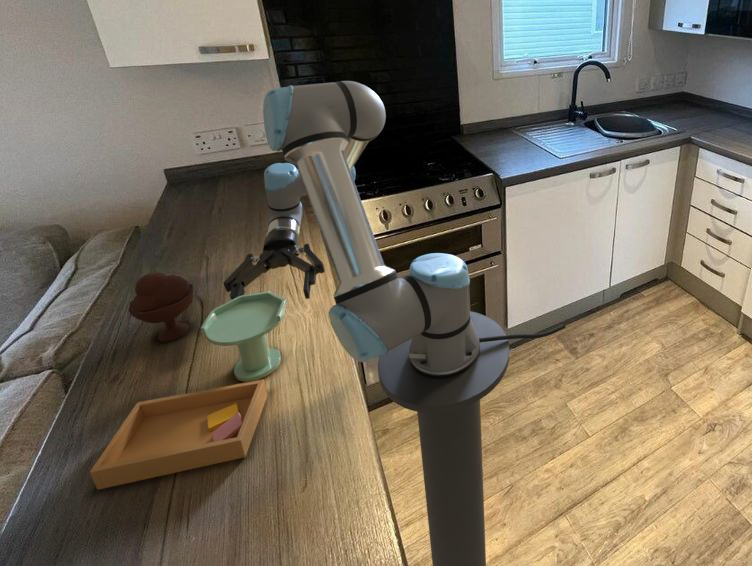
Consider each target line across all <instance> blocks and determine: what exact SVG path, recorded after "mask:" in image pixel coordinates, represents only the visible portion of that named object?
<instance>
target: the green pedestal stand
mask: <svg viewBox="0 0 752 566" xmlns="http://www.w3.org/2000/svg"><path fill="white" fill-rule="evenodd" d="M287 305H288V304H287V299H286V298H284V297H282V296H280V295H278V294H276V293H274V292H272V291H263V292H262V291H261V292H256V293H250V294H249V293H248V294H244V295H241V296H239V297H237V298H235V299H233V300H228V301H227V302H225V303H223V304H221V305H219V306H217V307H215V308H214V309H212V310H211V311H210V312H209V314H208V316H207V317H206V319H205V320H204V322H203V323H202V325H201V327H200V332H201V334H205V337H206V339H207V341H208V342H209V343H211V344H213V345H214V346H215V345H216V346H221V347H229V346H230V347H231V346H236V348H237V352H238V355H239V360H238V361H237V363H236V364H235V366H234V369H233V373H234V378H236V379H237V380H238V381H240V382H243V383H247V382H252V381H258V380H262V379H263V378H266V377H267V376H269V375H271V374H272V373H273V372H275V371H276V369H277V368H278V367H279V365H280V364H281V361H282V357H281V353H280V351H279V350H278V349H276V348H273V347H270V344H269V339H268V336H267V334H269V333H270V332H271V331H273V330H274V329H276V327H278V326H279V325H280V324H281V323H282V322H283V319H284V318H285V317H286V316H285V315H286V308H287Z"/></svg>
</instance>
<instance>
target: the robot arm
mask: <svg viewBox="0 0 752 566" xmlns="http://www.w3.org/2000/svg"><path fill="white" fill-rule="evenodd" d="M386 118H387V115H386V108H385V105H384V102H383V101H382V100H381V98H380V96H379V95H378V94H377V93H376V92H375V91H374V90H372V89H371V88H370V87H368V86H367V85H365V84H362V83H360V82H357V81H353V80H340V81H335V82H333V81H332V82H323V83H311V84H302V85H301V84H300V85H292V84H290V85H288V86H283V87H277V88H271V89H270V90H268V91H267V92H266V94H265V95H264V97H263V105H262V119H263V127H264V133H265V139H266V141H267V142H266V143H267V144H268V146H269V148H270V150H271V151H273V152H282V154H283V158H284V160H285V162H283V163H282V162H276V163H273V164H271V165H269V166H267V168H265V169H264V173H263V180H264V184H263V185H264V188H265V189H264V190H265V194H266V200H267V209H268V215H269V218H268V225H267V228H266V233H265V238H264V242H263V246H262V252H261V253H260V254H259V255H253V253H248V254H247V255H246V256H245V259H244V260H243V262H241V264H239V266H238V267H236V269H235V270H233V271H232V273H231V274H230V275H229V276H228V277H227V278H226V279H225V280H224V281H223V283H222V284H223V286H224V289H225V291H226V292H227V293H229V292H230V293H229V297H230V299H231V300H233V299H235V298H237V297H239V296H241V295H245V293H246V290H245V288H246V287H247V286H249V285H250V284H251V283H253V281H255V280H256V279H257V278H259V277H260V276H261V275H262V274H266V273H267V272H269V271H270V270H275V269H278V268H285V267H287V266H290V267H292V268H296V269H298V270H300V271H301V272H303V273H304V279H303V289H302V291H303V295H304V297H305V300H308V299H311V286H313V285H315V284H316V282H317V281H316V279H317V275H318V274H324V273H325V272H326V270H325V266H324V263H323V262H322V261H321V259H320V257H318V256H317V255H316V254H315V252H313V251H312V248H311V245H310V243H305V244H304V245H303V247H299V242H300V241H299V239H300V233H301V222H302V217H303V214H304V213H303V204H302V202H301V197H305V196H307V199H308V201H309V203H310V207H311V210H312V212H313V215H314V218H315V221H316V223H317V226H318V229H319V232H320V235H321V239H322V241H323V243H324V247H325V250H326V252H327V255H328V258H329V260H330V263H331V266H332V269H333V272H334V274H335V277H336V280H337V287H336V289H335V291H334V293H333V300H334V302H335V304H333V305H332V306H331V307H330V308H329V310H328V318H329V320H330V325H331V328H332V330H333V332H334V334H335V337H336V338H337V340H338V342H339V343H340V345H341V346H342V347H343V349H344V351H345V352H346V354H348V355H349V356H350V357H351V358H352V359H353V360H354V361H356V362H360V363H367V362H370V361H372V360H375V359H376V358H379V356H380V355H385V354H386V353H387V352H388V351H389V350H391V349H393V348H395V347H397V346H399V345H400V344H402V343H404V342H406V341H408V340H410V339H412V341H411V345H410V349H409V358H410V362H411V365H412V367H413V368H414V370H415V371H416V372H418V373H419V374H421V375H423V376H425V377H429V378H435V379H443V378H449V377H453V376H456V375H459V374H461V373H463V372H464V371H466V370H467V369H469V368H470V367H471V366H472V365H473V364H474V363H475V361H476V360H477V358H478V356H479V353H480V342H488V341H498V340H507V339H508V340H516V339H517V340H519V339H520V340H521V339H541V338H545V337H548V336H552V335H554V334H556V333H558V332H561V331H562V330H565V329H566V324H560V325H558V326H556V327H554V328H553V329H550V330H548V331H544V332H539V333H516V334H506V335H504V336H494V337H484V338H479V337H478V334H477V332H476V330H475V327H474V325H473V323H472V321H471V318H470V311H471V295H470V284H471V279H470V274H469V268H468V265H467V264H466V262H465V261H464V260H463V259H461V258H460V257H458V256H457V255H454V254H451V253H450V254H449V253H442V252H433V253H427V254H423V255H420V256H417V257H416V258H415V259H413V260H412V262H411V264H410V266H409V273H408V274H406V275H404V276H401V277H398V274H397V271H396V269H394V268H392V267H390V266H387V265H386V264H385V261H384V259H383V257H382V254H381V251H380V249H379V245H378V244H377V241H376V238H375V237H376V236H375V235H374V232H373V230H372V226H371V223H370V221H369V219H368V215H367V213H366V210H365V207H364V204H363V202H362V200H361V197H360V194H359V191H358V189H357V188H358V187H357V185H356V183H355V182H356V181H355V180H356V175H357V173H356V168H355V165H356V163H357V161H358V160H359V158H360V157H361V155H362V153H363V152H364V150H365V149H366V147H367V145H368V144H369V142H371V141H373V140H374V139H376V138H377V137H378V136H379V135H380V133H381V132H382V131H383V129H384V126H385V125H386ZM299 255H302V256H304V257H306V259H307V260H308V261H309V262H307V261H306V260H304V259H302V258H301V257H299ZM231 300H230V301H231Z"/></svg>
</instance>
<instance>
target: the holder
mask: <svg viewBox="0 0 752 566" xmlns="http://www.w3.org/2000/svg"><path fill="white" fill-rule="evenodd" d="M268 394H269V393H268V389H267V385H266V382H265V379H263V378H262V379H258V380H255V381H250V382H243V383H236V384H231V385H226V386H220V387H215V388H209V389H203V390H197V391H193V392H188V393H182V394H176V395H171V396H165V397H159V398H154V399H148V400H143V401H138V402H136V403H135V405H134V407H133V408H132V409H131V411H130V412H129V414H128V415H127V417H126V418H125V420H124V421H123V423H122V424H121V425H120V427H119V428H118V430H117V431H116V432H115V434H114V436H113V437H112V439H111V440H110V442H109V443H108V444H107V446H106V447H105V449H104V450H103V452H102V453H101V455H100V456H99V458H98V459H97V461H96V462H95V463H94V465H93V467H92V468H91V470H90V471H89V474H90V476H91V478H92V480H93V482H94V485H95V488H96V489H97V490H103V489H108V488H112V487H117V486H122V485H126V484H130V483H134V482H139V481H143V480H149V479H153V478H158V477H162V476H167V475H172V474H175V473H180V472H184V471H185V472H186V471H190V470H194V469H199V468H204V467H207V466H212V465H216V464H221V463H226V462H229V461H234V460H238V459H243V458H246V457H247V454H248V451H249V448H250V445H251V443H252V440H253V437H254V435H255V431H256V429H257V426H258V423H259V421H260V418H261V415H262V413H263V410H264V407H265V404H266V401H267V398H268ZM235 403H237V406H238V411H239V413H240V414H241V416H242V419H243V423H242V425H241V428H240V430H239V431H238V432H237V433H236V434H235V435H233V436H232V437H231V438H230V439H226V440H221V441H217V442H214V440H213V437H212V432H214V431H215V430H216V429H214V430H212V431H210V432H209V430H208V424H207V415H210V414H212V413H214V412H217V411H219V410H221V409H223V408H226V407H228V406H230V405H232V404H235Z"/></svg>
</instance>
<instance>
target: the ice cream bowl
mask: <svg viewBox="0 0 752 566" xmlns="http://www.w3.org/2000/svg"><path fill="white" fill-rule="evenodd" d="M134 292H135V296H134V297H133V299H132V300H130V302H129V306H128V312H129V314H130V315H131V316H132V318H135V319H136V320H139V321H142V322H145V323H148V324H160V323H164V324H165V327H164V328H162V329H161V331H159V332H158V335H157V336H158V337H157V340H158V341H160V342H163V343H164V342H169V341H175V340H176V339H179V338H181V337H183V336H184V335H186V333H188V332H189V330H190V329H189V328H190V325H189V324H187V323H184V322H176V318H178V317H179V316H181V315H182V314H183V313H184V312H185V311H187V310H188V308H189V307H190V306H191V305H192V303H193V300H194V285H193V284H191V283H189V282H188V280H187V279H185V278H184V277H182V276H180V275H174V274H172V275H171V274H170V275H166V274H165V273H162V272H155V271H154V272H153V271H152V272H149V273H146V274H144V275H142V276H141V277H140V278H139V279H138V280H137V281H136V284H135V288H134Z"/></svg>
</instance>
